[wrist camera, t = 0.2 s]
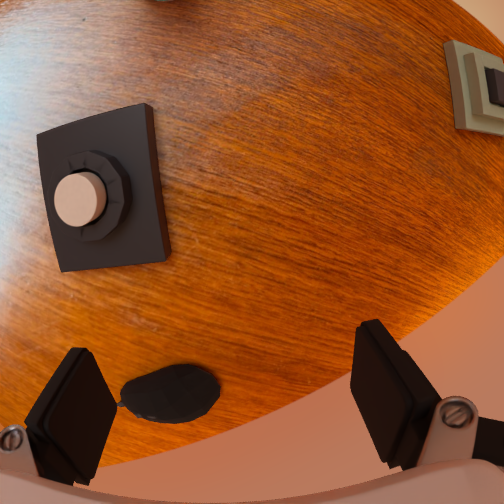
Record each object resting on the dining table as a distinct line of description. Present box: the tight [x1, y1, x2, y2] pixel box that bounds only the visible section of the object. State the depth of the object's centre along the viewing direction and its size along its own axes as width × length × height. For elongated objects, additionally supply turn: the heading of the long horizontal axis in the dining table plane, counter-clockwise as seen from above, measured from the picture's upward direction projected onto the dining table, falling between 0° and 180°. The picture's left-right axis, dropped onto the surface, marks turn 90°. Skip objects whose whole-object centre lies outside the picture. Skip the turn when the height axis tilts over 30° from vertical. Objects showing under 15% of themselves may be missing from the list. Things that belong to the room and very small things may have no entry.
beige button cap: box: [54, 172, 107, 227], centre depth 18 cm, size 4×4×2 cm
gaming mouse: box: [116, 364, 221, 424], centre depth 28 cm, size 6×15×4 cm, turn 114°
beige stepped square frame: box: [443, 40, 504, 137], centre depth 19 cm, size 9×8×4 cm
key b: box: [485, 68, 504, 106], centre depth 17 cm, size 3×3×2 cm
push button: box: [37, 103, 171, 272], centre depth 21 cm, size 12×10×4 cm
